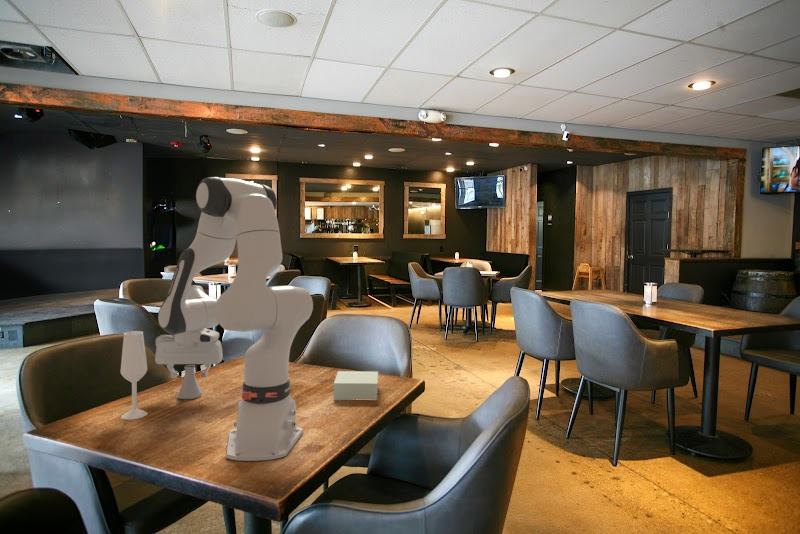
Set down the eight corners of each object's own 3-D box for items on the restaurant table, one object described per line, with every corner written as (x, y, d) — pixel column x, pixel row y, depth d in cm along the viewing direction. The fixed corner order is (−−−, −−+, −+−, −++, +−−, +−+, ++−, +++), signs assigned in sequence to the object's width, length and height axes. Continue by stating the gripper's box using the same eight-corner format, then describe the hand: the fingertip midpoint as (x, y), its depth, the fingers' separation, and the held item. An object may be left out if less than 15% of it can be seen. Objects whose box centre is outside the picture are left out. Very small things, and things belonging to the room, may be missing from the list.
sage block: (377, 401, 151) (377, 383, 150) (333, 401, 150) (333, 383, 150) (377, 388, 165) (378, 371, 164) (337, 388, 164) (338, 371, 164)
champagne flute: (153, 413, 137) (152, 331, 135) (131, 421, 131) (130, 335, 129) (137, 409, 140) (136, 329, 138) (115, 416, 133) (114, 333, 132)
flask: (206, 393, 155) (206, 363, 155) (194, 400, 148) (194, 369, 148) (185, 392, 156) (185, 362, 155) (172, 399, 149) (172, 368, 148)
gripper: (151, 336, 147) (151, 380, 148) (218, 337, 149) (218, 379, 150) (159, 332, 153) (159, 374, 154) (224, 333, 155) (224, 374, 156)
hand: (189, 377), depth 152 cm, fingers open, 8 cm apart
